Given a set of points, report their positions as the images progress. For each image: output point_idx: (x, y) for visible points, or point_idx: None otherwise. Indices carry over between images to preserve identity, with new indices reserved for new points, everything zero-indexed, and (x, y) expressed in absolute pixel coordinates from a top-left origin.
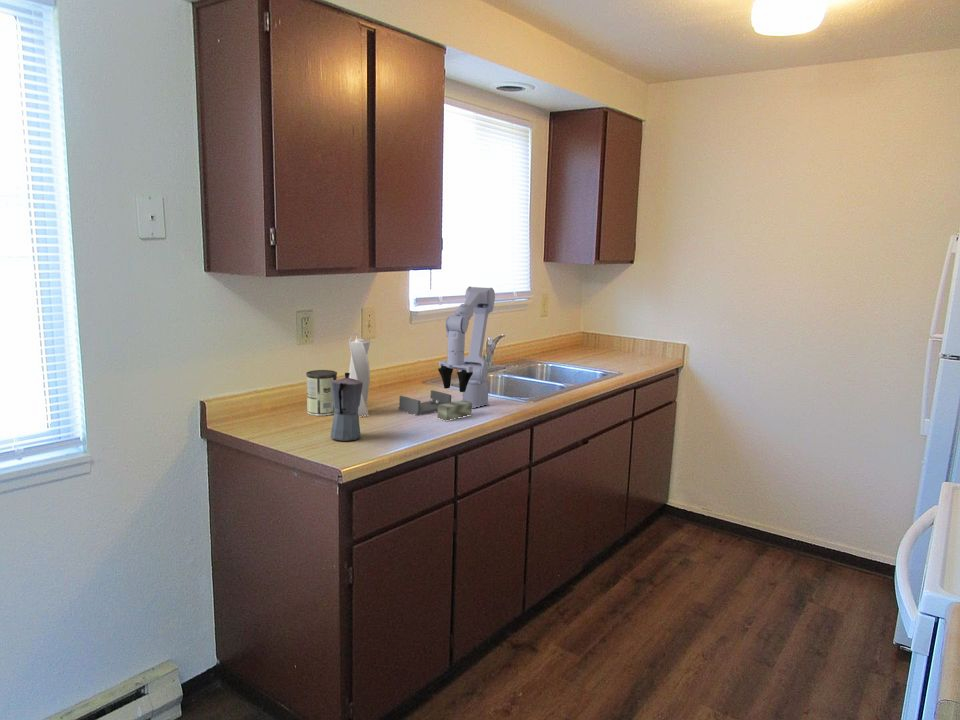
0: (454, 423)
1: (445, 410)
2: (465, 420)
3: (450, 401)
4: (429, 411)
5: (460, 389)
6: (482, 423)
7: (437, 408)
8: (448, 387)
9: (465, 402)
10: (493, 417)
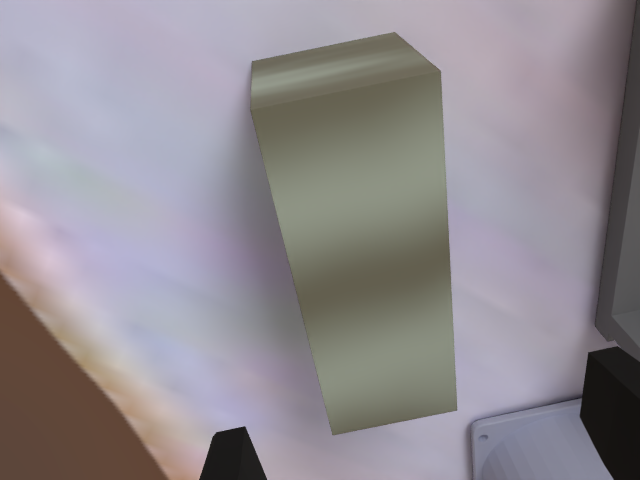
0: (148, 97)
1: (274, 91)
2: (211, 242)
3: (632, 353)
4: (635, 90)
5: (212, 469)
6: (65, 311)
7: (629, 197)
8: (588, 408)
9: (368, 395)
10: (206, 437)
